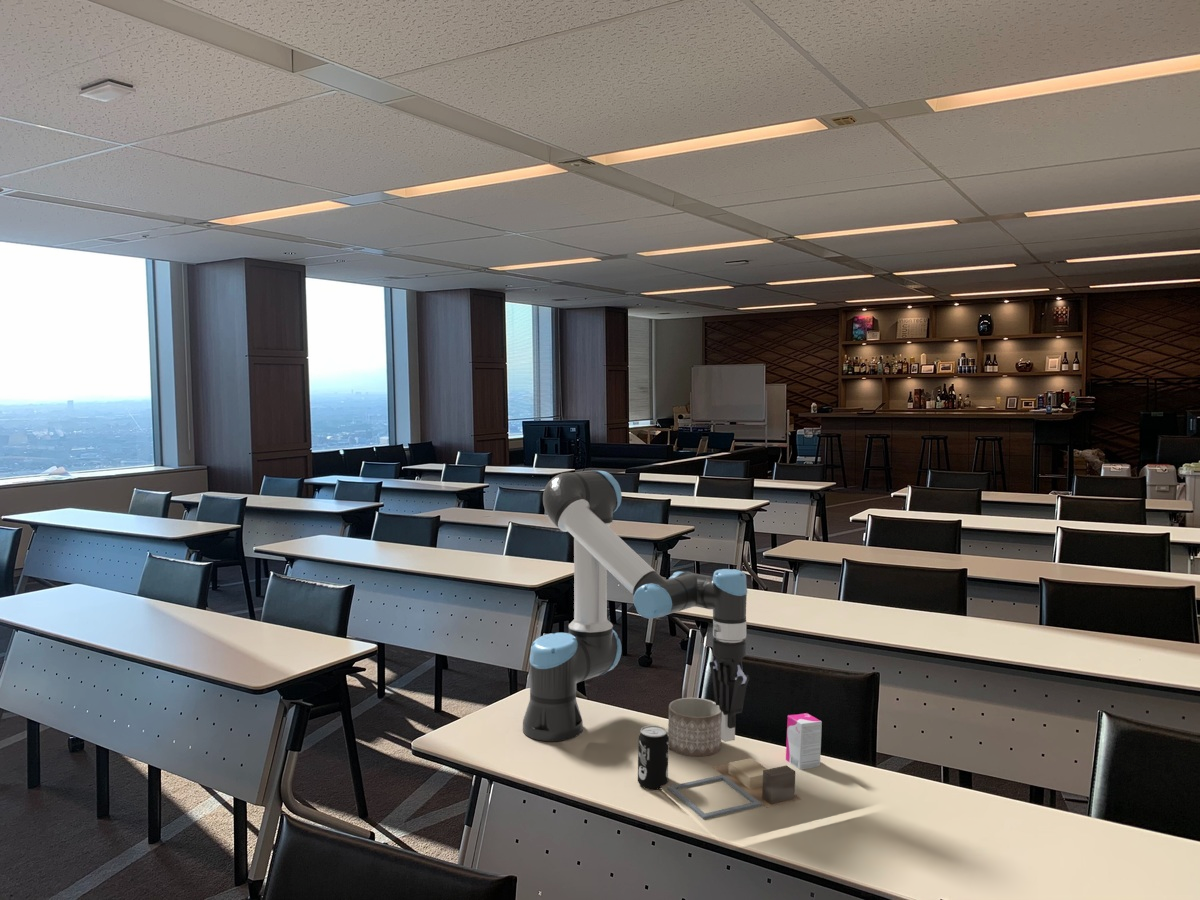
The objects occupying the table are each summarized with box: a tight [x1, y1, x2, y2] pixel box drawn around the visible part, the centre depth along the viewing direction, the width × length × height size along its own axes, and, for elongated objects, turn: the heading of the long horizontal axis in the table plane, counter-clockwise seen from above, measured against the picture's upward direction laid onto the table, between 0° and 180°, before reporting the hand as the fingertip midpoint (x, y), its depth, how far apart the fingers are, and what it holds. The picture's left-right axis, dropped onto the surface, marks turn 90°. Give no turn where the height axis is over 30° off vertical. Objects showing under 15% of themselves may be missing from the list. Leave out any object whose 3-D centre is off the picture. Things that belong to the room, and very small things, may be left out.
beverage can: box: [637, 725, 670, 791], centre depth 182 cm, size 7×7×12 cm
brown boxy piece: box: [712, 763, 802, 808], centre depth 182 cm, size 20×9×7 cm, turn 25°
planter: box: [667, 697, 722, 757], centre depth 201 cm, size 13×13×10 cm
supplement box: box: [785, 712, 823, 770], centre depth 192 cm, size 6×6×12 cm
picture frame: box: [667, 774, 762, 820], centre depth 175 cm, size 14×14×2 cm
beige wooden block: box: [728, 757, 768, 789], centre depth 184 cm, size 8×6×2 cm
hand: (728, 739), depth 192 cm, fingers closed
